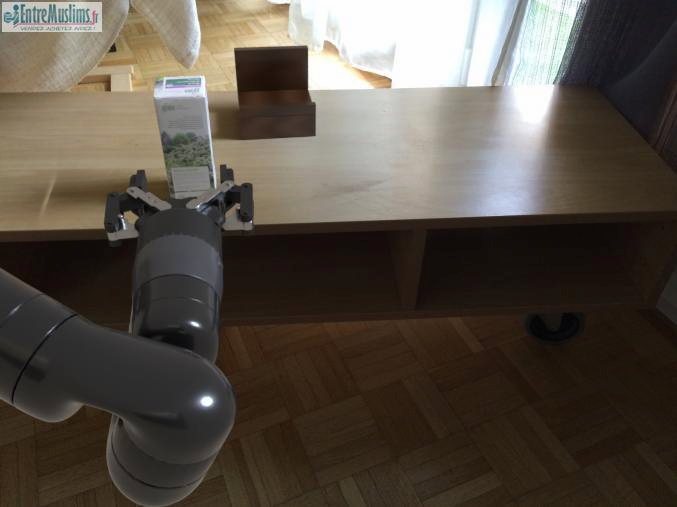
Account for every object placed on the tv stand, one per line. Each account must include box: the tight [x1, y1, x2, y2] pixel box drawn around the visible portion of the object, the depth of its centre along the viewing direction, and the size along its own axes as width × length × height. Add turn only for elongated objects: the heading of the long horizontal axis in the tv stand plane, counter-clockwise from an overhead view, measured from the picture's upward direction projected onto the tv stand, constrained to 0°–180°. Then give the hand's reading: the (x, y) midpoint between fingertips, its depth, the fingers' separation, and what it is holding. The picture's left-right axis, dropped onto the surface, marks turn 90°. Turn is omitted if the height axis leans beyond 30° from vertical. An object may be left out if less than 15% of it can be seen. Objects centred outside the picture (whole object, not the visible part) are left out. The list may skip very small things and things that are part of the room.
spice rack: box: [233, 44, 317, 141], centre depth 91 cm, size 11×10×10 cm
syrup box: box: [152, 75, 217, 199], centre depth 74 cm, size 6×6×14 cm
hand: (183, 174), depth 66 cm, fingers open, 8 cm apart
